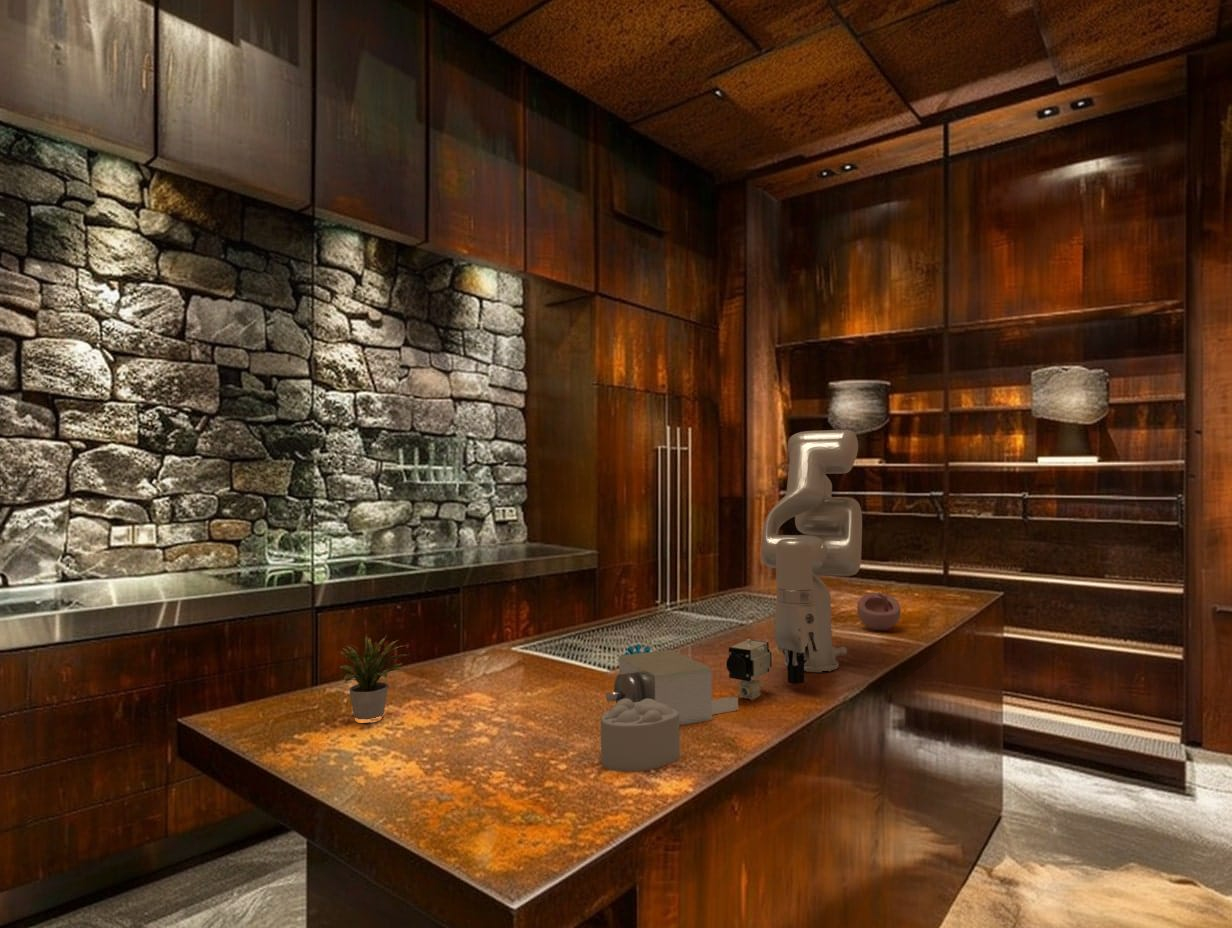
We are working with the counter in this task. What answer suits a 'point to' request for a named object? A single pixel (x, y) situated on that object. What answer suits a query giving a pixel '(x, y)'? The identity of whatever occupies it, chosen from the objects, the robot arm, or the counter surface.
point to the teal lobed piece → (637, 649)
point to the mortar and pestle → (878, 611)
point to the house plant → (369, 679)
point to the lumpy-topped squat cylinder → (639, 736)
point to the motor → (670, 685)
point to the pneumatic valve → (749, 665)
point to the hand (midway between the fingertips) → (796, 682)
